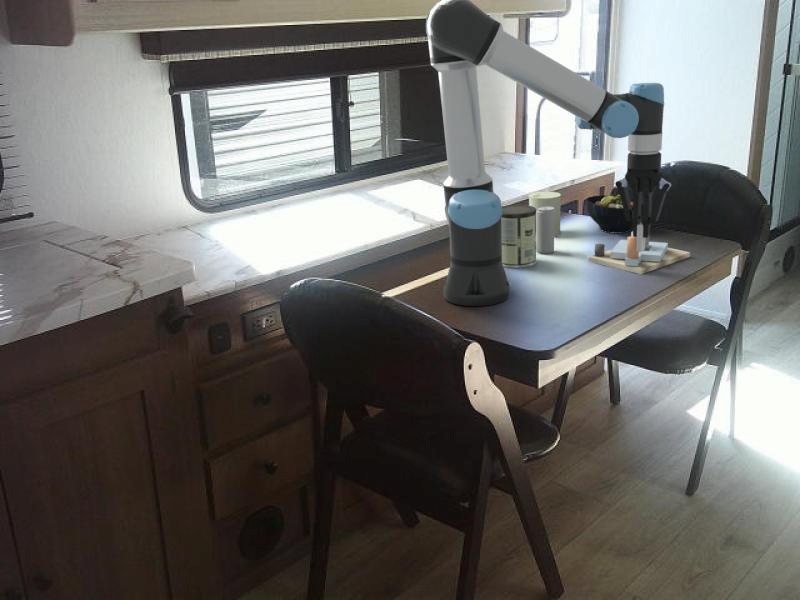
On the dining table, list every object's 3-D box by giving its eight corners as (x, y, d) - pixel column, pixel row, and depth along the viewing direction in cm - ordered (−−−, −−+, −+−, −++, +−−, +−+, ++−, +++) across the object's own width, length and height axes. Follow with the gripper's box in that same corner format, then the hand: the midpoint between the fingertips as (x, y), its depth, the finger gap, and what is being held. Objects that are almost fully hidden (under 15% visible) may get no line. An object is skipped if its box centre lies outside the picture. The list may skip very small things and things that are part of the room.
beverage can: (553, 249, 215) (553, 205, 211) (554, 254, 211) (555, 210, 207) (535, 249, 216) (535, 206, 212) (536, 254, 211) (536, 210, 207)
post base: (641, 274, 191) (642, 246, 189) (588, 261, 203) (589, 234, 201) (689, 256, 203) (691, 230, 200) (637, 245, 215) (638, 220, 212)
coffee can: (505, 255, 213) (505, 203, 208) (542, 259, 208) (542, 206, 203) (489, 265, 204) (488, 212, 200) (527, 270, 199) (527, 215, 195)
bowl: (649, 236, 222) (651, 201, 219) (587, 237, 225) (587, 202, 222) (642, 222, 238) (643, 189, 235) (583, 222, 241) (584, 190, 238)
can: (523, 232, 234) (523, 192, 230) (551, 228, 237) (551, 188, 233) (537, 239, 226) (537, 197, 222) (566, 235, 228) (567, 194, 224)
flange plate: (620, 245, 210) (621, 221, 208) (667, 248, 205) (669, 224, 203) (606, 263, 196) (607, 237, 194) (656, 267, 191) (658, 241, 188)
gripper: (677, 150, 184) (671, 248, 191) (622, 148, 191) (619, 244, 198) (668, 155, 178) (663, 256, 186) (612, 153, 185) (609, 251, 192)
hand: (640, 250), depth 192 cm, fingers closed
